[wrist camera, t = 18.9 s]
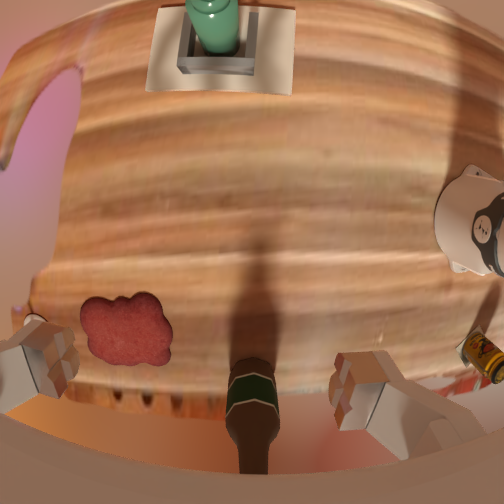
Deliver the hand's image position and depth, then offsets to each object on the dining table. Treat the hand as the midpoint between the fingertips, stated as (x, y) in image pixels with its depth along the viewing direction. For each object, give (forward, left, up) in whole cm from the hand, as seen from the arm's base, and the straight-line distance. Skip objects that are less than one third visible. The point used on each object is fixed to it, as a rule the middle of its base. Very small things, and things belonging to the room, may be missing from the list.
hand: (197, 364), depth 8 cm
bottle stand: (+4, -23, -35) cm, 42 cm away
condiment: (-51, +24, -35) cm, 66 cm away
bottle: (+4, -23, -34) cm, 41 cm away
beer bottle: (-4, +28, -35) cm, 45 cm away
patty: (+18, +22, -36) cm, 46 cm away
